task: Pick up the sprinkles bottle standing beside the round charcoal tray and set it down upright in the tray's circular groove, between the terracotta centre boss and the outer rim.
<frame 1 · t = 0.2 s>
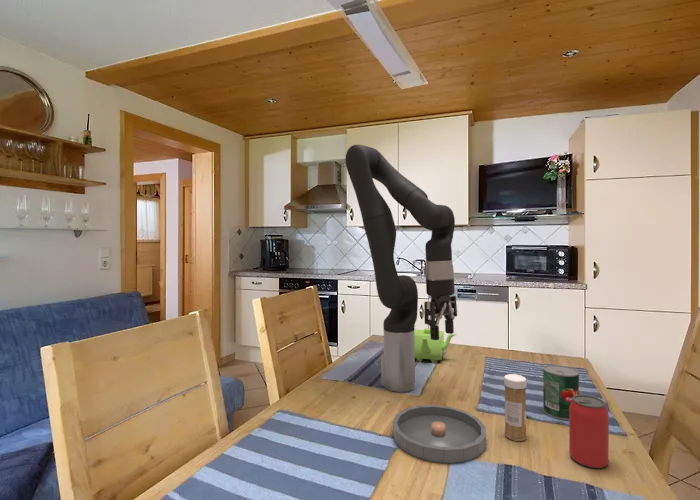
hand: (442, 336, 104), 17 cm above the table, tool pointing down, fingers open, 8 cm apart
beer can: (588, 461, 76), on the table
groove tray: (438, 437, 85), on the table
sprinkles bottle: (515, 437, 85), on the table
kettle: (428, 360, 140), on the table
canned tomato: (560, 413, 96), on the table
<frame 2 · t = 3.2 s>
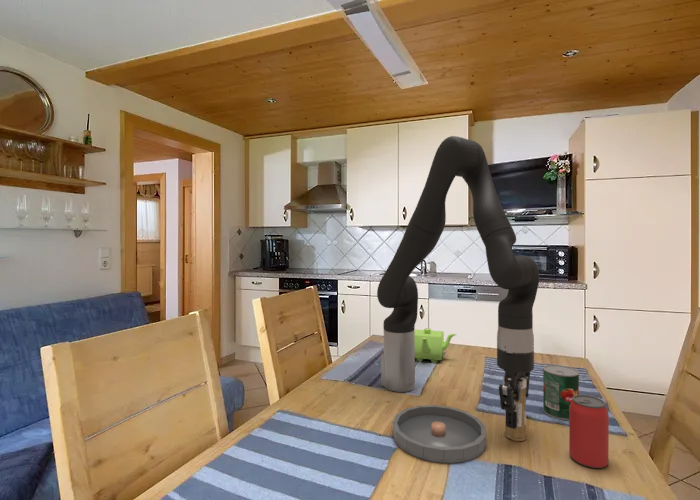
hand: (515, 422, 85), 3 cm above the table, tool pointing down, fingers closed on sprinkles bottle, 4 cm apart
sprinkles bottle: (515, 437, 85), on the table, touching gripper
everything else where it was.
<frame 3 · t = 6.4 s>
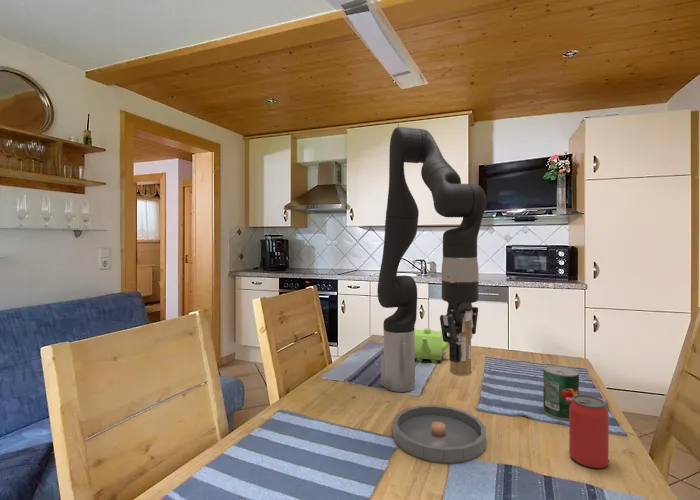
hand: (460, 358, 81), 19 cm above the table, tool pointing down, fingers closed on sprinkles bottle, 4 cm apart
sprinkles bottle: (460, 374, 81), point 15 cm above the table, touching gripper
everything else where it was.
when the fingers open (5 cm above the table, at t = 9.1 s): sprinkles bottle drops 1 cm, resting on groove tray.
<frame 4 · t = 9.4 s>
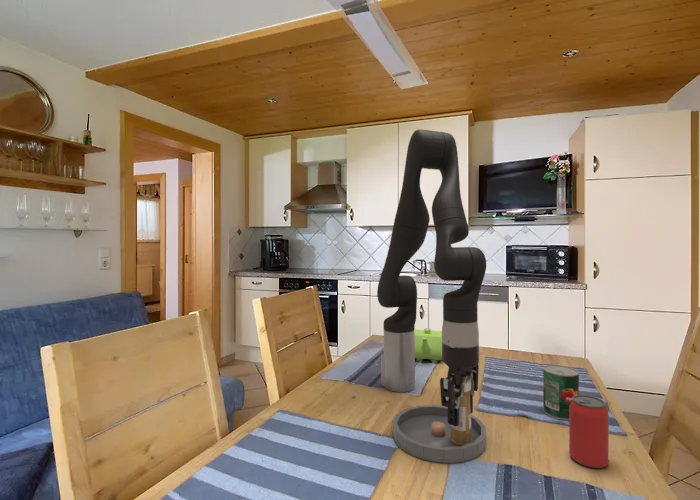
hand: (460, 418, 82), 6 cm above the table, tool pointing down, fingers open, 6 cm apart
sprinkles bottle: (460, 441, 82), point 1 cm above the table, touching groove tray
everything else where it was.
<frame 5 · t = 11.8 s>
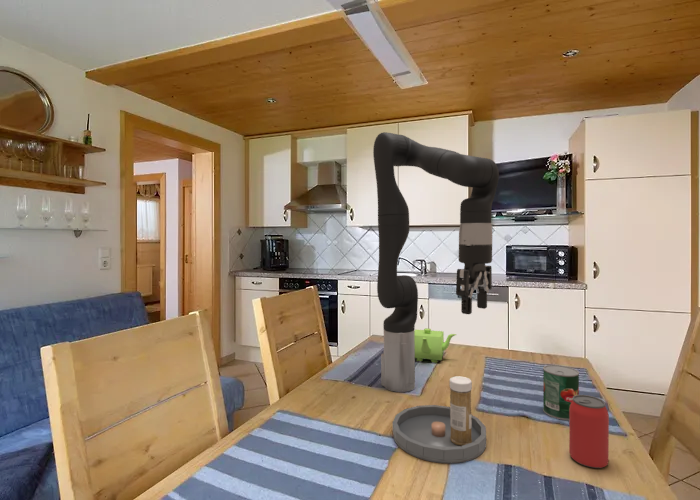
hand: (474, 310, 91), 27 cm above the table, tool pointing down, fingers open, 8 cm apart
nothing on the table moved.
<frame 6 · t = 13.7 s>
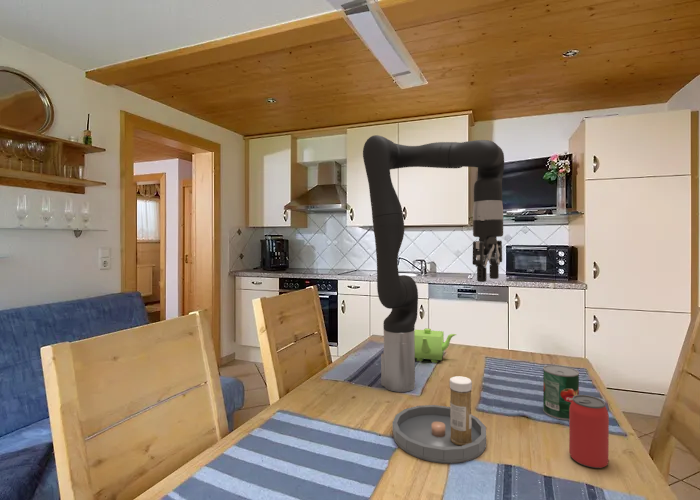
hand: (488, 280, 101), 33 cm above the table, tool pointing down, fingers open, 8 cm apart
nothing on the table moved.
at the end: sprinkles bottle 0.3 cm from the target spot on the groove tray, point 0.6 cm above the groove tray's base; sprinkles bottle tilted 0°; the gripper is holding nothing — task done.
